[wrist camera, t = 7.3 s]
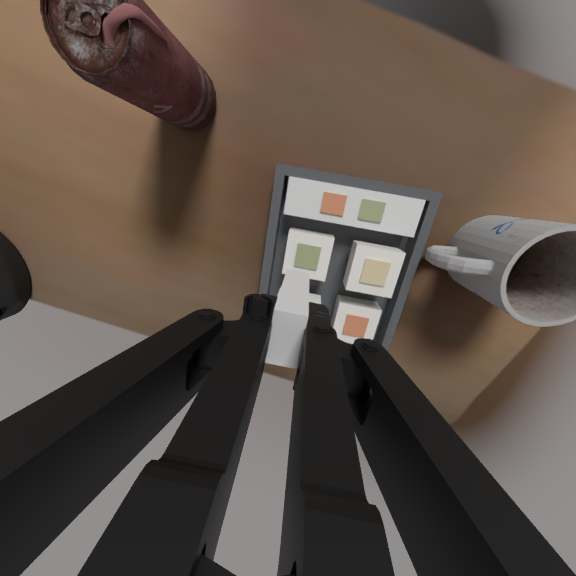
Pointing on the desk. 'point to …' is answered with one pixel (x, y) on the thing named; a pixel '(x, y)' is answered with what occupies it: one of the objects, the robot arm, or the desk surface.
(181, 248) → the desk surface
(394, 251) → the key sand
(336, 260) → the keypad
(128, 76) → the can
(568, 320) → the mug
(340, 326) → the key rust
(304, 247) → the key olive
